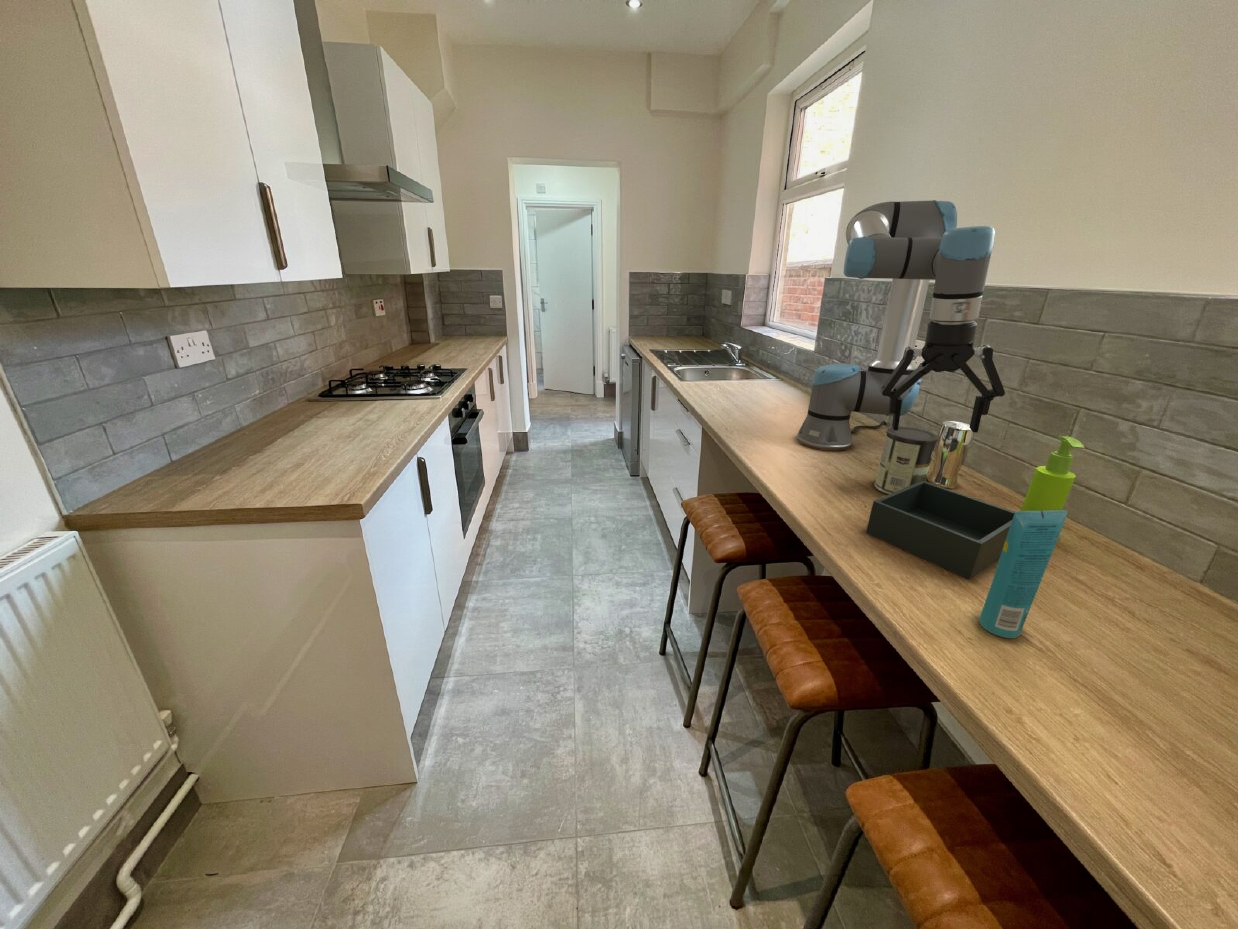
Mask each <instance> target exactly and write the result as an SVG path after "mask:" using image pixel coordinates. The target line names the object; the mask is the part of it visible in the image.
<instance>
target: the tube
mask: <svg viewBox="0 0 1238 929" xmlns="http://www.w3.org/2000/svg"><path fill="white" fill-rule="evenodd" d="M1014 512H1015V514H1014V517H1013V520H1012V523H1011V526H1010V529H1009V532H1008V535H1007V538H1006V541H1005V544H1004V547H1003V550H1002V553H1001V556H1000V558H999V559H998V563H997V566H996V569H995V572H994V574H993V578H992V581H991V584H990V586H989V590H988V593H987V595H986V598H985V602H984V603H983V606H982V610H981V613H980V615H979V619H978V622H979V625H980V626H981V627H982V628H983V629H984V630H986V631H988V632H989V633H991V634H993V635H995V636H998V637H1001V638H1005V639H1016V638H1018V637H1020V635H1021V632H1022V630H1023V627H1024V625H1025V623H1026V621H1027V618H1028V615H1029V612H1030V609H1031V607H1032V605H1033V602H1034V600H1035V597H1036V595H1037V593H1038V590H1039V587H1040V585H1041V583H1042V580H1043V577H1044V575H1045V573H1046V569H1047V568H1048V565H1049V562H1050V560H1051V558H1052V555H1053V552H1054V550H1055V547H1056V545H1057V543H1058V540H1059V538H1060V536H1061V532H1062V530H1063V528H1064V525H1065V522H1066V520H1067V517H1068V514H1069V513H1068V510H1066V509H1065V510H1064V509H1063V510H1062V511H1021V510H1020V511H1017V510H1016V511H1014Z"/></svg>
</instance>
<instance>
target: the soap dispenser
mask: <svg viewBox="0 0 1238 929" xmlns="http://www.w3.org/2000/svg"><path fill="white" fill-rule="evenodd" d="M1058 440H1059V441H1060V444H1059V445H1058V446H1059V447H1058V449H1057V450H1055V451H1051V452H1050V453H1049V457H1048V458H1047V461H1046V463H1045V464H1046V465H1039V466H1037V467H1036V468H1035V470H1034V473H1033V476H1032V478H1031V482H1030V484H1029V487H1028V490H1027V492H1026V495H1025V498H1024V500H1023V503H1022V505H1021V508H1020V511H1062V510H1064V507H1065V504H1066V502H1067V499H1068V497H1069V495H1070V492H1071V490H1072V487H1073V485H1074V483H1075V480H1076V477H1077V476H1076V474H1075V473H1074V472H1072V471H1070V469H1071V466H1072V464H1073V461H1074V459H1075V456H1074V455H1072V454H1071V451H1072V449H1080V450H1083V449H1085V445H1084V444H1083V442H1081V441H1080V440H1078V439H1077V438H1076V437H1075V438H1074V437H1072V436H1064V435H1058Z"/></svg>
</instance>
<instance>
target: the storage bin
mask: <svg viewBox="0 0 1238 929" xmlns="http://www.w3.org/2000/svg"><path fill="white" fill-rule="evenodd" d="M1015 512H1016V511H1014V510H1011V509H1008V508H1005V507H1001V506H998V505H995V504H993V503H990V502H986V501H983V500H981V499H977V498H975V497H972V496H969V495H966V494H963V493H961V492H960V493H959V492H957V491H954V490H951V489H949V488H942V487H939V486H936V485H933V484H931V483H929V482H928V481H920V482H918V483H915V484H913V485H911V486H908V487H906V488H903V489H901V490H899V491H896V492H894V493H892V494H886V495H885V496H883V497H880V498H877V499H875V500H873V502H872V505H871V509H870V514H869V518H868V522H867V526H866V531H865V533H866V534H868V535H870V536H872V537H875V538H877V539H879V540H882V541H884V542H885V543H888V544H890V545H892V546H894V547H897V548H899V549H902V550H903V551H906V552H907V553H909V554H912V555H914V556H916V557H919V558H920V559H923V560H925V561H927V562H929V563H932V564H934V565H936V566H939V567H941V568H943V569H945V570H947V571H950V572H952V573H953V574H956V575H958V576H960V577H962V578H965V579H967V580H971V579H972V578H973V577H975V576H976V575H978V574H980V572H982V571H984V570H985V569H987V568H988V567H989V566H990V565H992V564H994V563H995V562H996V561H999V559H1000V556H1001V553H1002V550H1003V547H1004V544H1005V541H1006V538H1007V535H1008V532H1009V529H1010V526H1011V523H1012V520H1013V517H1014V514H1015Z"/></svg>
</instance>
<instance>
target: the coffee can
mask: <svg viewBox="0 0 1238 929" xmlns="http://www.w3.org/2000/svg"><path fill="white" fill-rule="evenodd" d="M937 440H938V435H937V434H935V433H933V432H931V431H928V430H925V429H921V428H915V427H908V426H898V430H893V427H892V426H891V427H888V428H887V429H886V435H885V439H884V443H883V446H882V447H883V448H882V451H881V456H880V461H879V466H878V470H877V473H876V477H875V482H874V488H875V489H877V490H878V491H879V492H882V493H883V494H885V495H889V494H892V493H894V492H896V491H899V490H901V489H903V488H906V487H908V486H911V485H913V484H915V483H918V482H920V481H925V482H927V479H928V473H929V470H930V467H931V462H932V460H933V455H934V454H935V446H936V442H937Z"/></svg>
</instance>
